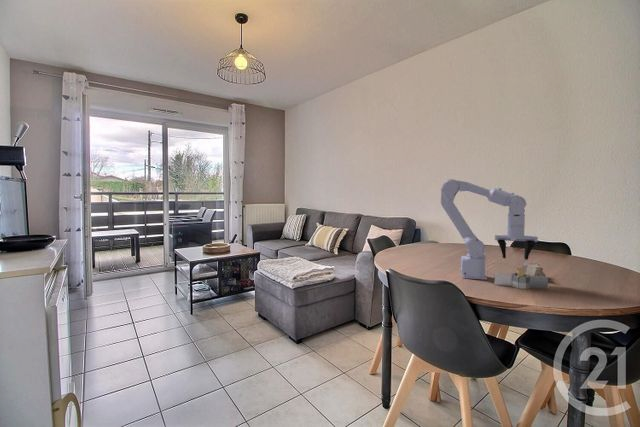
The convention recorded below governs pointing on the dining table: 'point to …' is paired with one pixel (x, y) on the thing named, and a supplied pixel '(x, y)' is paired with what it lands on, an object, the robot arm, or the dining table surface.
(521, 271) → the hinge pin
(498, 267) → the dining table surface
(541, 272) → the mineral specimen
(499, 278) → the hinge
